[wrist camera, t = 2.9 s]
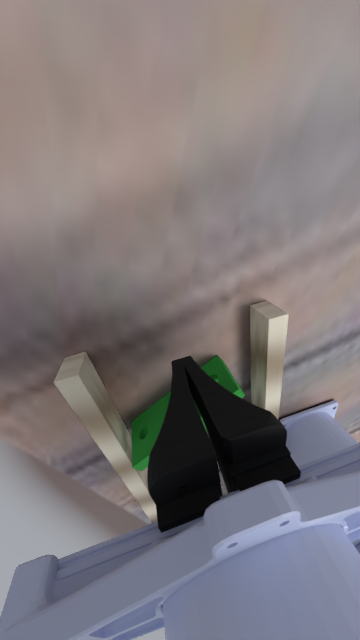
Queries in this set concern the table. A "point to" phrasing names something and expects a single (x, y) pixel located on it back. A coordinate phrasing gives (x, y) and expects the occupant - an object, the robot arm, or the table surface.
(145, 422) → the pipe clamp
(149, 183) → the table surface
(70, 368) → the guide rails
